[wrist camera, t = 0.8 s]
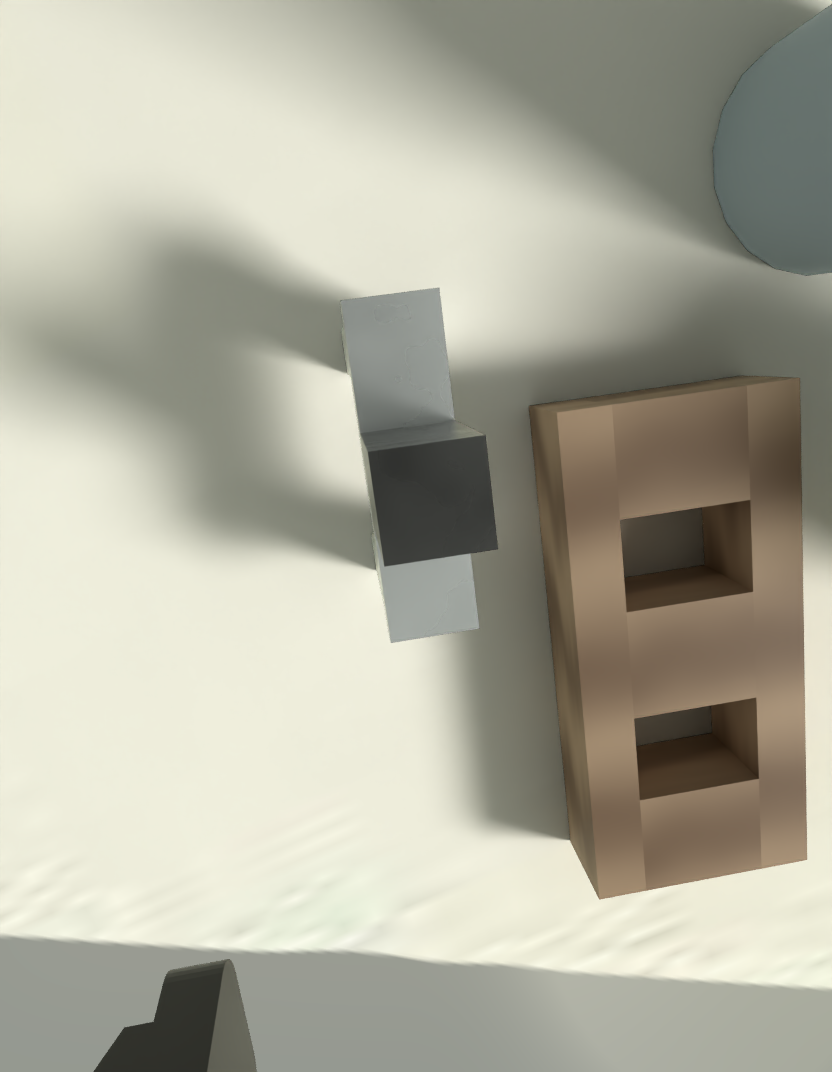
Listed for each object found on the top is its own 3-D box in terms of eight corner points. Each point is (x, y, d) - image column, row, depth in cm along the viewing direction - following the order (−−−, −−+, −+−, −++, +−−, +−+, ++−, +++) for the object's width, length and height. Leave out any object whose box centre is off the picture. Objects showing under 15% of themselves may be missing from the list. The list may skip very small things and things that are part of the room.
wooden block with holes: (528, 405, 31) (556, 412, 27) (743, 375, 32) (799, 378, 28) (570, 841, 36) (599, 899, 32) (756, 806, 37) (807, 859, 33)
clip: (338, 312, 30) (343, 285, 19) (416, 302, 30) (467, 269, 19) (379, 586, 32) (404, 708, 21) (450, 575, 33) (513, 689, 21)
